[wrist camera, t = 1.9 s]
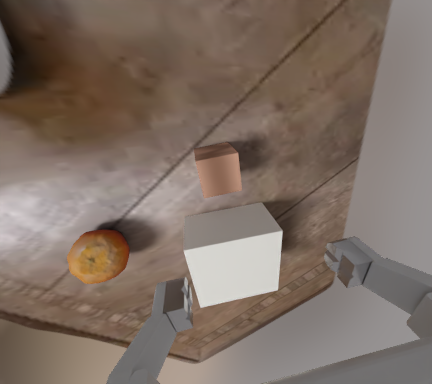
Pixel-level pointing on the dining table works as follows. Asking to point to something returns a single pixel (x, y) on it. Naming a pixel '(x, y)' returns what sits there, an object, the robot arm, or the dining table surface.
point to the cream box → (233, 253)
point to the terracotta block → (218, 169)
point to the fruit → (98, 256)
